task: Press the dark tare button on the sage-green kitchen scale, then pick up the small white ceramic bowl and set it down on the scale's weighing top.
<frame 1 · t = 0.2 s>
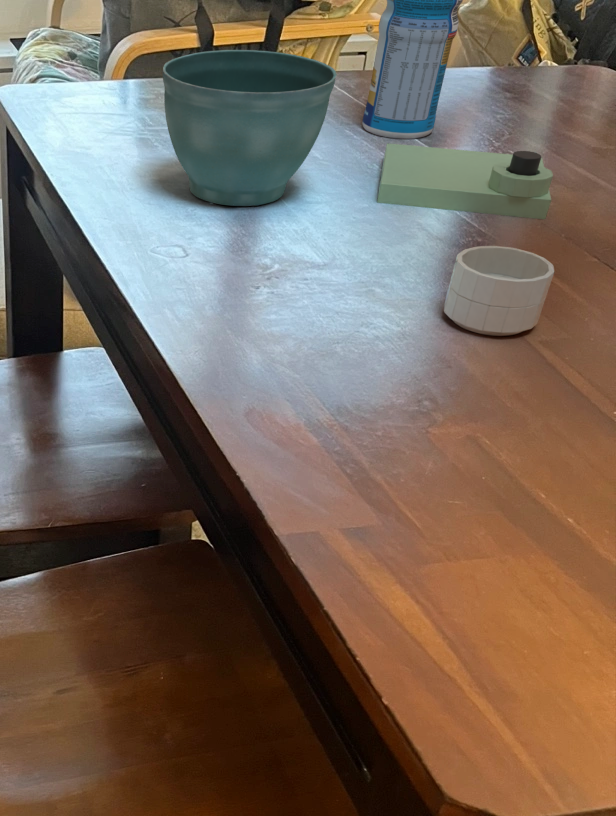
beverage bottle: (396, 132, 123), on the table
bowl: (488, 320, 84), on the table
tare button: (524, 164, 101), point 4 cm above the table, slide at 0.1 cm
flower pot: (234, 194, 106), on the table
scale: (459, 189, 107), on the table
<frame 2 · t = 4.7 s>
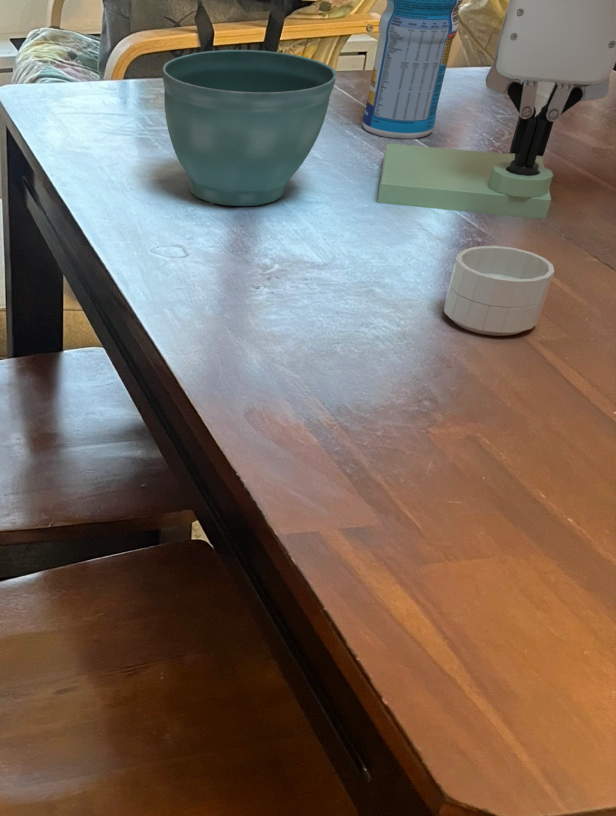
hand: (523, 162, 101), 4 cm above the table, tool pointing down, fingers closed
tare button: (522, 173, 101), point 3 cm above the table, slide at -0.6 cm, touching gripper
everything else where it was.
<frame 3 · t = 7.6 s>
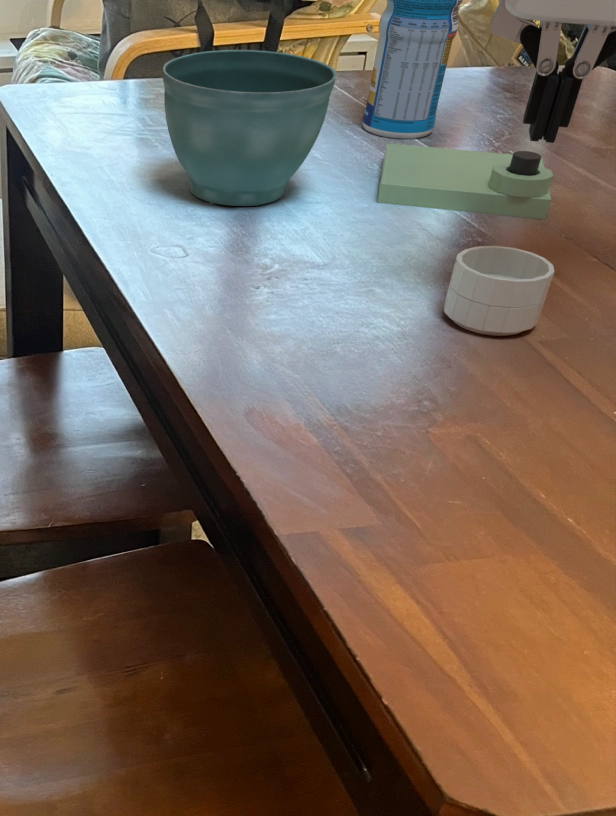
hand: (541, 136, 75), 13 cm above the table, tool pointing down, fingers closed
tare button: (524, 164, 101), point 4 cm above the table, slide at 0.1 cm
everything else where it was.
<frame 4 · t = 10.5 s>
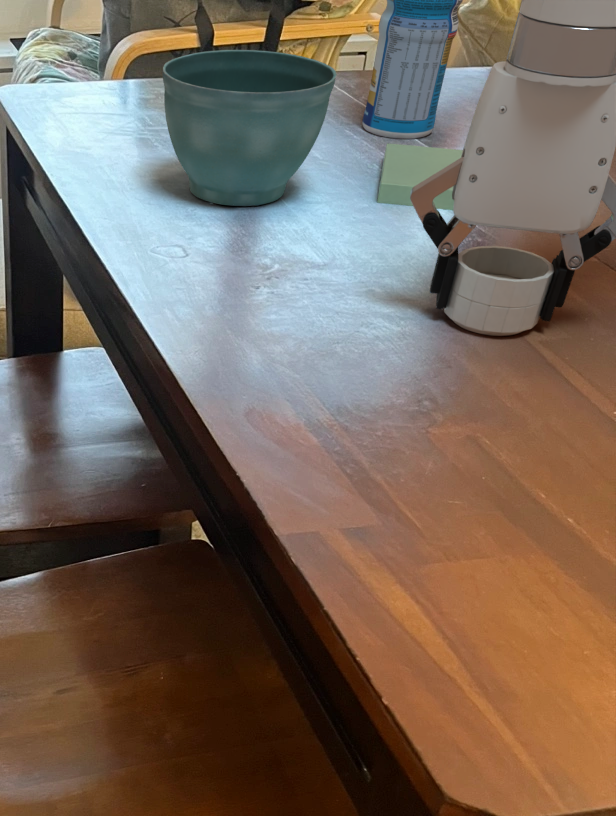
hand: (492, 307, 83), 1 cm above the table, tool pointing down, fingers closed on bowl, 7 cm apart
bowl: (488, 320, 84), on the table, touching gripper
everything else where it was.
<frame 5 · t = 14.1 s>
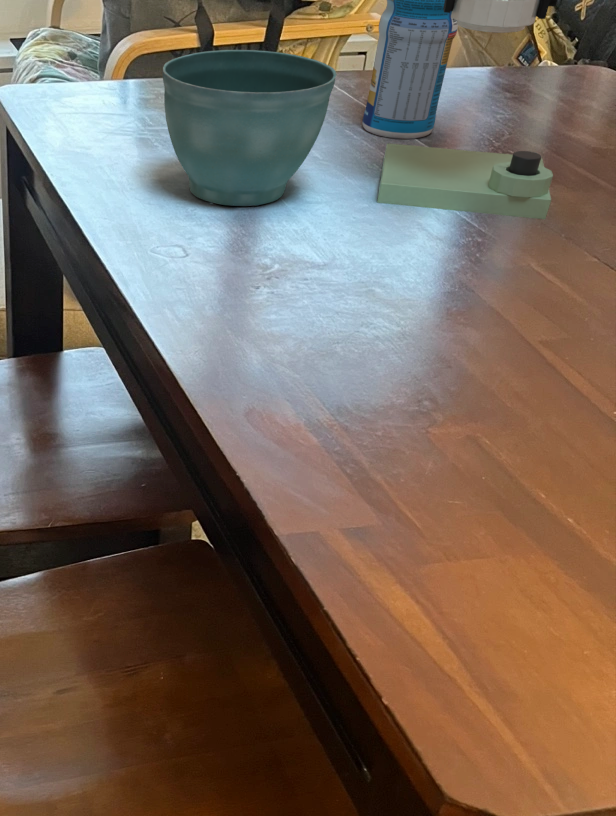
hand: (493, 11, 93), 16 cm above the table, tool pointing down, fingers closed on bowl, 7 cm apart
bowl: (490, 25, 94), point 15 cm above the table, touching gripper
everything else where it was.
when the fingers open (3 cm above the table, at t = 18.2 s): bowl stays where it is, resting on scale.
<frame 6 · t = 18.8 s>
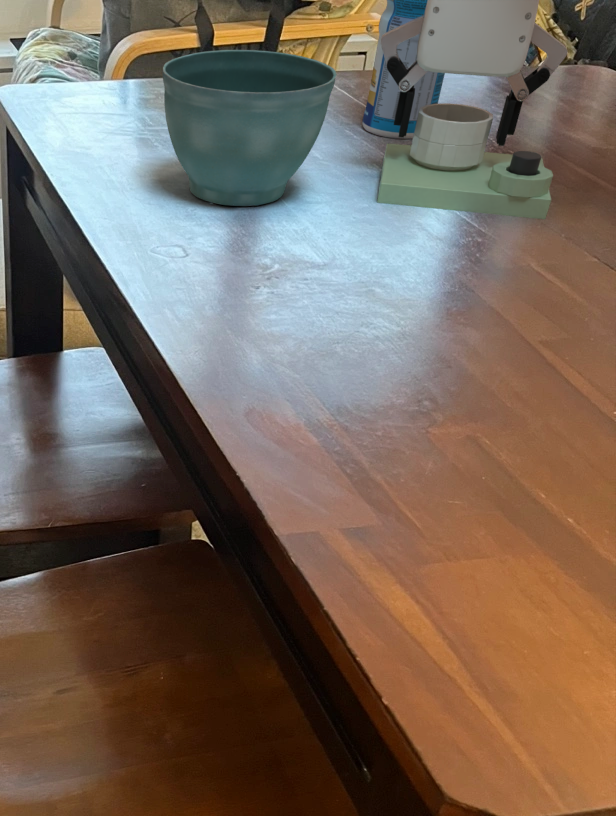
hand: (450, 137, 106), 4 cm above the table, tool pointing down, fingers open, 9 cm apart
bowl: (444, 161, 108), point 2 cm above the table, touching scale
everything else where it was.
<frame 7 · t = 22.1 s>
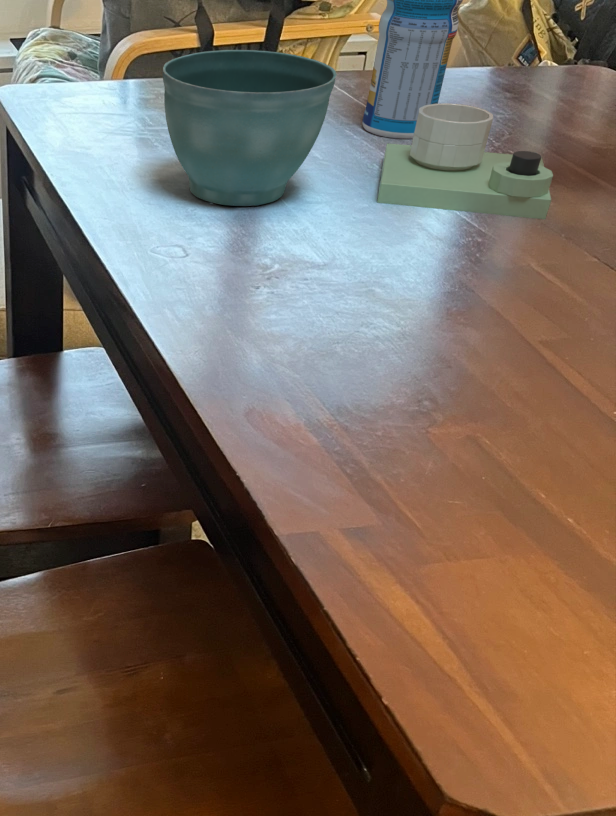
nothing on the table moved.
at the end: tare button pushed in 0.9 cm at the most during the clip, back to where it started at the end; bowl inside the target area on the scale (2.8 cm from its centre), point 1.9 cm above the scale's base; bowl tilted 0° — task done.
